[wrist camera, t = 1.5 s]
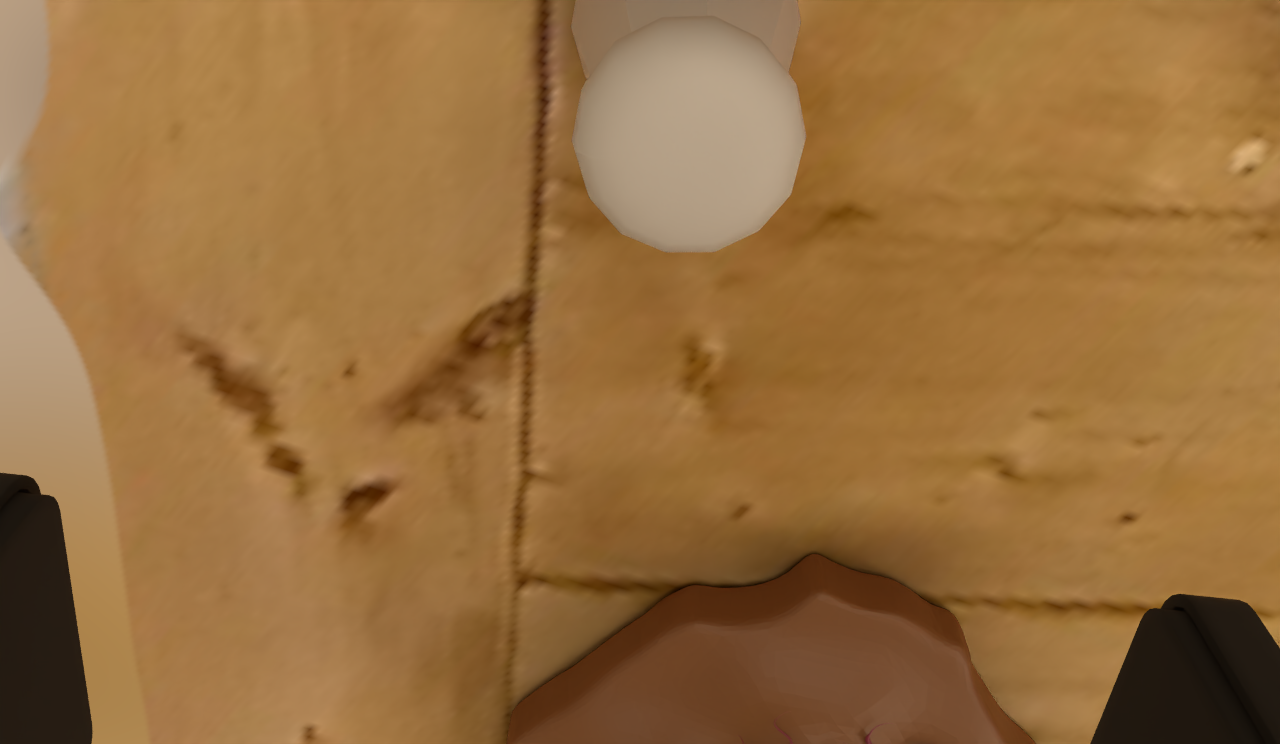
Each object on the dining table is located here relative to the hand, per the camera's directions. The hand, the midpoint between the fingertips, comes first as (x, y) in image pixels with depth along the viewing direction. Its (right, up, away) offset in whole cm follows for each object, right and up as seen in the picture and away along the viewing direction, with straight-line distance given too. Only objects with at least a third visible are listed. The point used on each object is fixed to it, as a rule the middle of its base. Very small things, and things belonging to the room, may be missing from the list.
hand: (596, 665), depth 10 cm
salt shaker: (+2, +13, +22) cm, 26 cm away
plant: (+5, -13, +36) cm, 39 cm away
